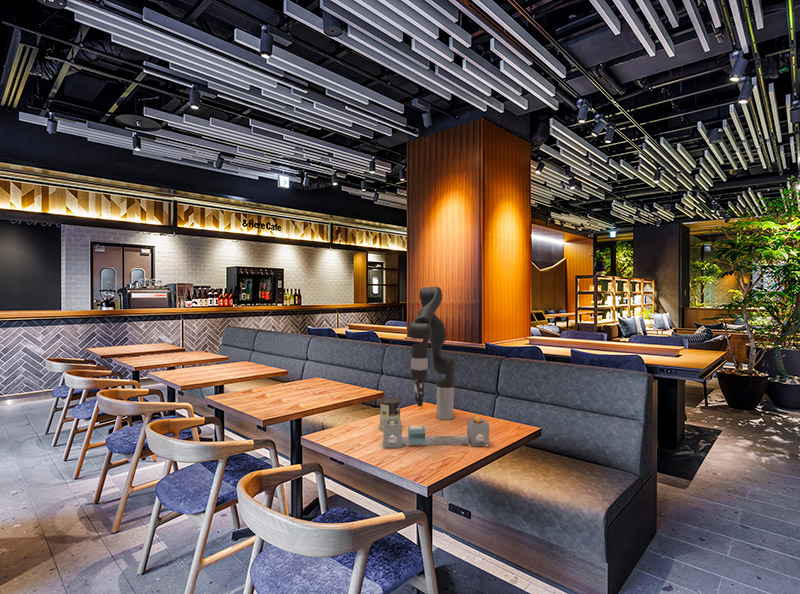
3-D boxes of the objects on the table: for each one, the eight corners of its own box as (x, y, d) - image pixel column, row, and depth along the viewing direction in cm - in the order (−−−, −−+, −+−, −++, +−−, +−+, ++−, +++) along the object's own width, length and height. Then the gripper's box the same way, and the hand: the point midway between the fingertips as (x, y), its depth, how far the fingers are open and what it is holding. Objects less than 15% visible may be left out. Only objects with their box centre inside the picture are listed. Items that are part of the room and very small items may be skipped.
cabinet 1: (382, 441, 190) (383, 418, 190) (400, 441, 191) (400, 418, 191) (383, 448, 181) (383, 424, 181) (401, 448, 182) (402, 424, 182)
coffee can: (401, 425, 214) (401, 398, 214) (398, 432, 203) (398, 403, 203) (381, 424, 215) (382, 397, 215) (377, 430, 205) (378, 402, 205)
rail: (400, 442, 190) (400, 435, 190) (465, 441, 192) (465, 434, 192) (401, 446, 184) (401, 440, 184) (468, 446, 186) (468, 439, 186)
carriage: (408, 439, 190) (408, 425, 190) (423, 439, 190) (423, 425, 190) (409, 443, 184) (409, 429, 184) (425, 443, 185) (425, 429, 185)
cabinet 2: (467, 440, 193) (467, 419, 193) (483, 440, 193) (484, 418, 193) (471, 447, 184) (471, 424, 184) (489, 447, 185) (489, 424, 185)
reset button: (474, 424, 190) (474, 415, 190) (480, 424, 191) (480, 415, 191) (475, 426, 188) (475, 417, 188) (481, 426, 188) (481, 416, 188)
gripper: (409, 365, 194) (408, 399, 194) (412, 370, 179) (412, 408, 179) (425, 365, 194) (424, 399, 194) (430, 370, 180) (429, 407, 180)
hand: (418, 403), depth 187 cm, fingers open, 8 cm apart
